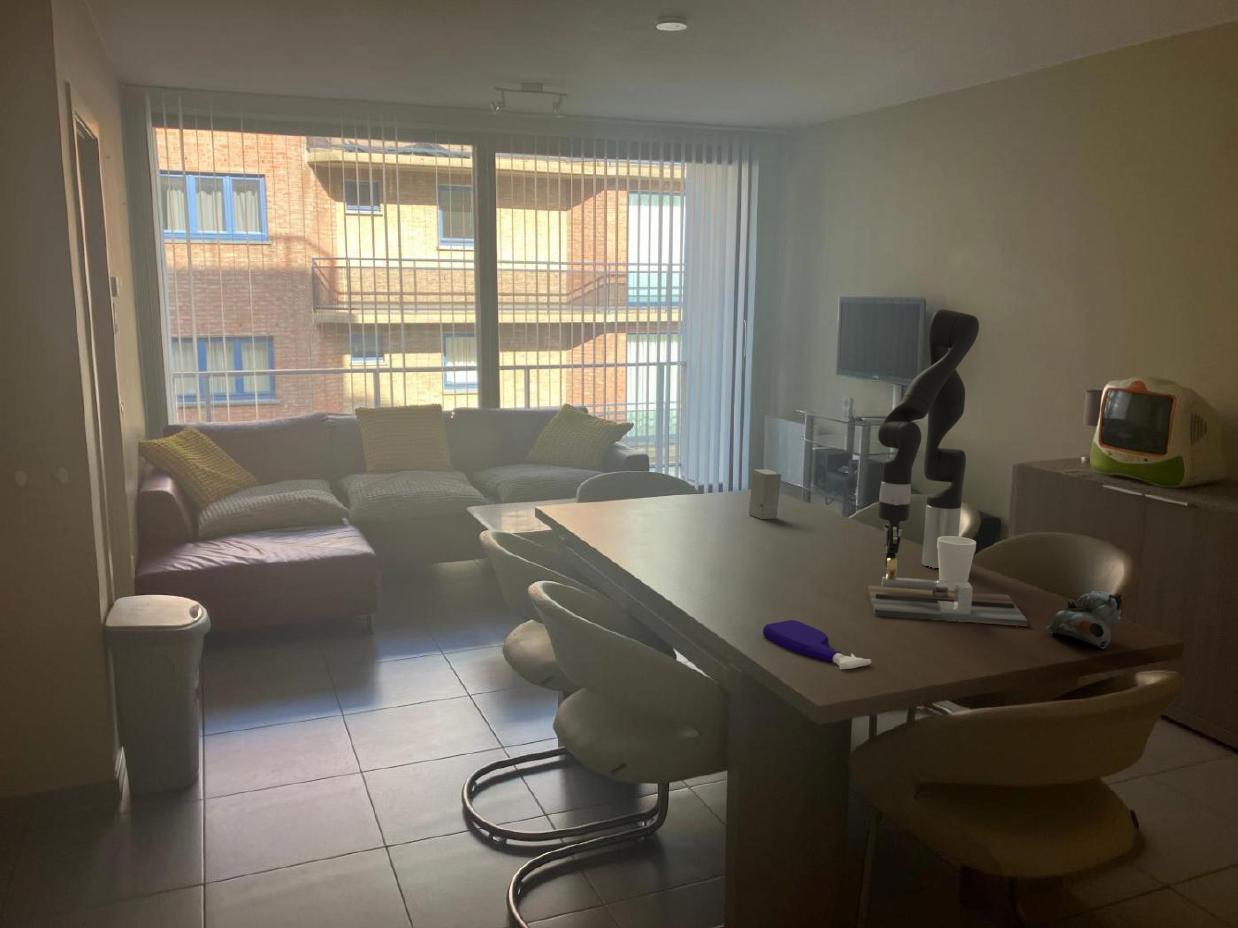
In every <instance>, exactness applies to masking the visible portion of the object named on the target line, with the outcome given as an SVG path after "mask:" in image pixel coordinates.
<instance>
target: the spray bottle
mask: <svg viewBox="0 0 1238 928" xmlns="http://www.w3.org/2000/svg"><path fill="white" fill-rule="evenodd" d="M762 634H763V636H764V638H766V639H767V640H768V641H770V642H772V643H774V644H775V645H778V647H781V648H783V649H785V650H788V651H790V652H793V653H796V654H798V655H802V656H806V657H810V658H813V659H816V660H817V659H818V660H821V661H825V662H829V663H833V664H834V663H835V664H836V665H837V666H838V667H839V670H849V669H855V668H859V667H865V666H868V665H871V664H872V660H871V659H870V658H867V659H865V658H863V657H856V656H855V655H854V653H851V654H850V656H848V655H844V654H843V653H842V652H841V650H835V649H834V648H831V647H828V644H829V641H830V640H829V637H828V635H827V634H826V633H825V632H823V631H822V630H820V629H817V628H815V627H813V626H810V625H808V624H806V623H805V622H800V621H799V620H793V619H789V620H783V621H779V622H772V623H767V624H765V626H763V629H762Z"/></svg>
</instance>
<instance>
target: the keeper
mask: <svg viewBox="0 0 1238 928" xmlns="http://www.w3.org/2000/svg"><path fill="white" fill-rule="evenodd" d="M973 589H974V588H973V585H971V583H970V582H969V581H968V582H956V583H955V595H954V602H947V601H937V607H938V609H939V611H940V613H945V614H958V615H971V603H972V592H973Z"/></svg>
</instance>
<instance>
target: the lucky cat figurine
mask: <svg viewBox="0 0 1238 928" xmlns="http://www.w3.org/2000/svg"><path fill="white" fill-rule="evenodd" d="M1122 595H1123V594H1122V593H1117V594H1114V595H1113V594H1112V593H1110V592H1107V591H1102V590H1092V591H1090V592H1089V593H1085V594H1083V595H1081V596H1080V597H1079V598H1077V600H1074V599H1072V598H1070V599H1069V600H1068V601H1066V605H1067V608H1065V609H1064V610H1061V611H1060V610H1059V611H1058V612H1057V613H1056V614H1054V616H1053V618H1052V622H1051V624H1050V625H1049V624H1048V625H1047V626H1046V627H1045V629H1046V630H1047V631H1049V632H1050V633H1051V632H1053V633H1055V634H1056V633H1057V635H1062V634H1063V635H1062V636H1068V637H1070V636H1071V637H1070V638H1073V637H1074V639H1076V640H1078V641H1079V640H1080V641H1082V642H1083V643H1088V644H1090V645H1093V646H1095V645H1096V646H1095V647H1097V646H1099V647H1106V646H1108V647H1109V646H1110V642H1111V634H1112V633H1111V632H1112V630H1113V629H1114V627H1115V626H1116V625H1117V624H1118V623H1119V622H1120V621H1121V613H1122V611H1121V605H1122V601H1123V600H1122ZM1075 601H1076V602H1075Z"/></svg>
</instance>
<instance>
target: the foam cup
mask: <svg viewBox="0 0 1238 928" xmlns="http://www.w3.org/2000/svg"><path fill="white" fill-rule="evenodd" d="M976 547H977V541H976V540H974V539H972V538H968V537H963V536H959V537H957V536H942V537H938V540H937V548H938V564H939V569H938V578H939V579H938V580H945V581H948V582H949V587H948V590H949V591H955V583H956V582H969V578H970V572H971V568H972V563H973V559H974V555H975V553H976Z"/></svg>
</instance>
